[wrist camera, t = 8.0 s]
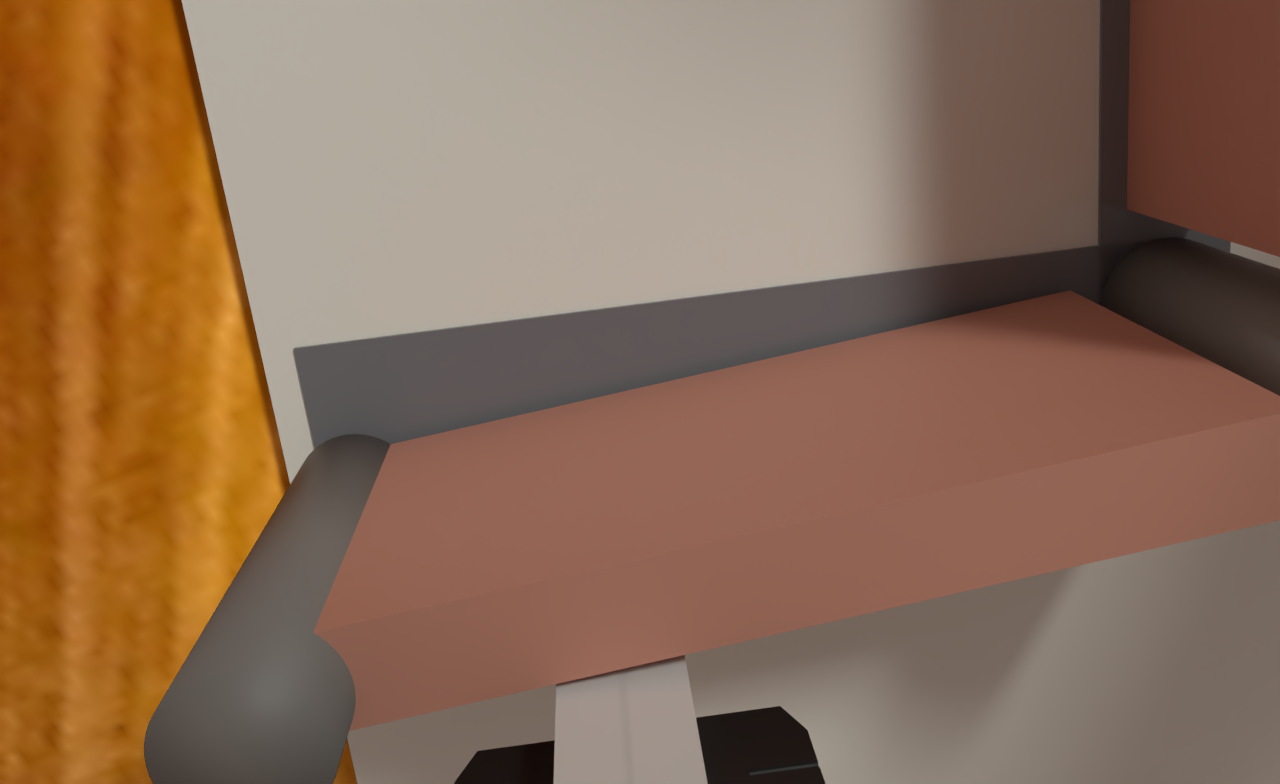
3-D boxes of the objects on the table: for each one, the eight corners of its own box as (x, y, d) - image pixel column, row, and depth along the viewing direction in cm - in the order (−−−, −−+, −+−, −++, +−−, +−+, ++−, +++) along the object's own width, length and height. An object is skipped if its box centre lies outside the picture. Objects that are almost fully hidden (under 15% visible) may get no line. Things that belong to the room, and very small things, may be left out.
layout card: (-11, -907, 13) (-32, -942, 12) (1391, -1040, 13) (1420, -1078, 13) (431, 1083, 22) (428, 1104, 21) (1260, 961, 22) (1275, 981, 22)
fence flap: (1068, 271, 17) (1369, 411, 11) (1080, 384, 17) (1372, 583, 11) (281, 449, 17) (117, 696, 11) (317, 557, 17) (181, 852, 11)
